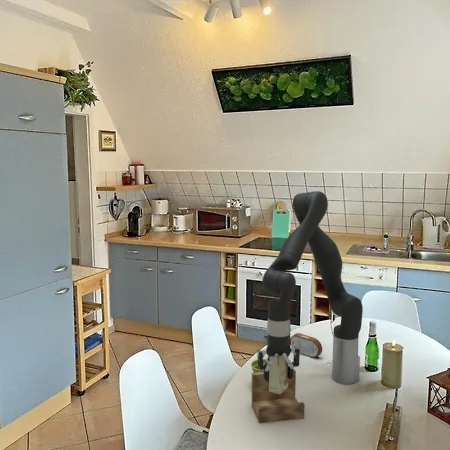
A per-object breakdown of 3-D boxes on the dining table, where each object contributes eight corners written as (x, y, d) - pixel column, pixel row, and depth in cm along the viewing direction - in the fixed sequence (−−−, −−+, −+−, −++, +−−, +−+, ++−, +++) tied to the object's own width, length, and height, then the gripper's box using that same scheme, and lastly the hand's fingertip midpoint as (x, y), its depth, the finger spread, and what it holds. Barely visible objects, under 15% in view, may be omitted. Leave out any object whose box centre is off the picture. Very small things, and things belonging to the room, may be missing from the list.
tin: (322, 358, 195) (323, 339, 194) (318, 360, 193) (319, 341, 192) (292, 348, 205) (293, 330, 204) (288, 350, 203) (289, 332, 202)
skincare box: (280, 395, 149) (280, 359, 147) (268, 391, 151) (268, 356, 149) (288, 386, 154) (289, 351, 152) (276, 383, 156) (276, 349, 155)
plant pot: (274, 393, 166) (275, 371, 165) (248, 391, 168) (248, 368, 167) (277, 381, 175) (277, 359, 174) (252, 379, 177) (252, 357, 176)
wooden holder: (293, 401, 160) (294, 369, 159) (304, 418, 150) (304, 383, 148) (251, 406, 158) (251, 372, 156) (259, 423, 148) (259, 387, 146)
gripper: (296, 325, 155) (295, 372, 157) (254, 328, 152) (254, 376, 154) (303, 334, 147) (303, 382, 150) (260, 337, 145) (260, 387, 147)
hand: (278, 379), depth 152 cm, fingers closed on skincare box, 7 cm apart
